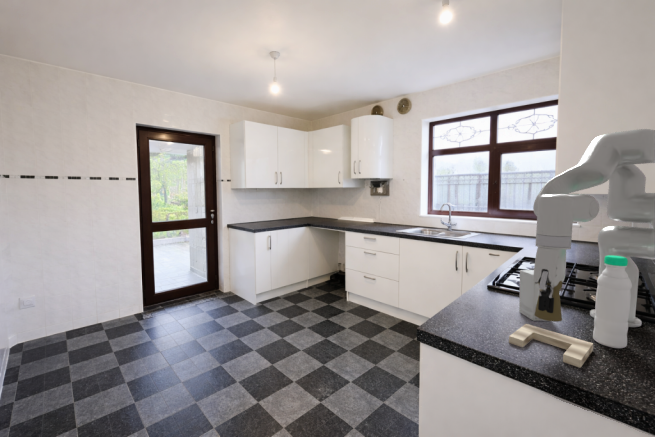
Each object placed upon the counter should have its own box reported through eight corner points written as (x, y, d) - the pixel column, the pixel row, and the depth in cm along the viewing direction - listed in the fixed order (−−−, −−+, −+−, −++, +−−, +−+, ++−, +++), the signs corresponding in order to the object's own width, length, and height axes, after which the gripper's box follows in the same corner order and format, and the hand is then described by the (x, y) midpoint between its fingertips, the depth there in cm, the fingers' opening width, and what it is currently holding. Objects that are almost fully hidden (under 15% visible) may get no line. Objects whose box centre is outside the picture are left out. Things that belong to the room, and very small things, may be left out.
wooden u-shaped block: (525, 329, 94) (525, 323, 94) (592, 350, 82) (593, 343, 82) (508, 342, 86) (509, 336, 86) (580, 367, 74) (581, 360, 74)
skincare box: (552, 321, 100) (555, 275, 99) (531, 321, 101) (534, 275, 99) (535, 311, 109) (538, 269, 107) (517, 311, 109) (519, 269, 108)
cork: (567, 322, 78) (570, 280, 77) (540, 320, 79) (543, 279, 78) (554, 313, 84) (557, 274, 83) (530, 311, 85) (532, 273, 84)
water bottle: (630, 352, 81) (638, 260, 79) (595, 345, 85) (602, 257, 83) (622, 341, 87) (629, 255, 85) (590, 335, 91) (596, 252, 89)
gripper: (546, 237, 88) (542, 298, 89) (525, 243, 77) (521, 312, 79) (579, 240, 82) (574, 306, 83) (561, 247, 72) (556, 322, 73)
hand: (548, 308), depth 81 cm, fingers closed on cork, 4 cm apart
